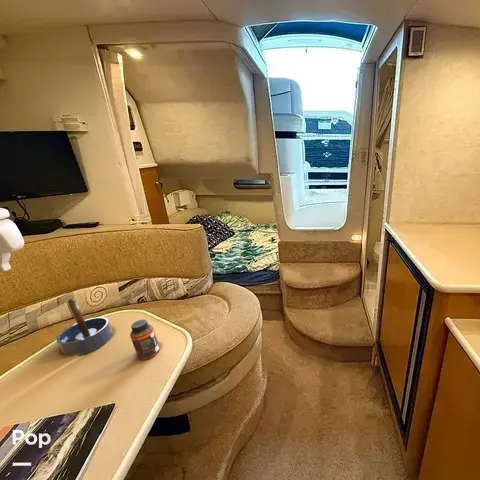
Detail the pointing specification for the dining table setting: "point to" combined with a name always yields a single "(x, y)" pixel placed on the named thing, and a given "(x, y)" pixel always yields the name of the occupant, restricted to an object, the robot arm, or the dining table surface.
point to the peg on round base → (80, 321)
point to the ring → (88, 342)
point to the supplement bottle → (144, 339)
